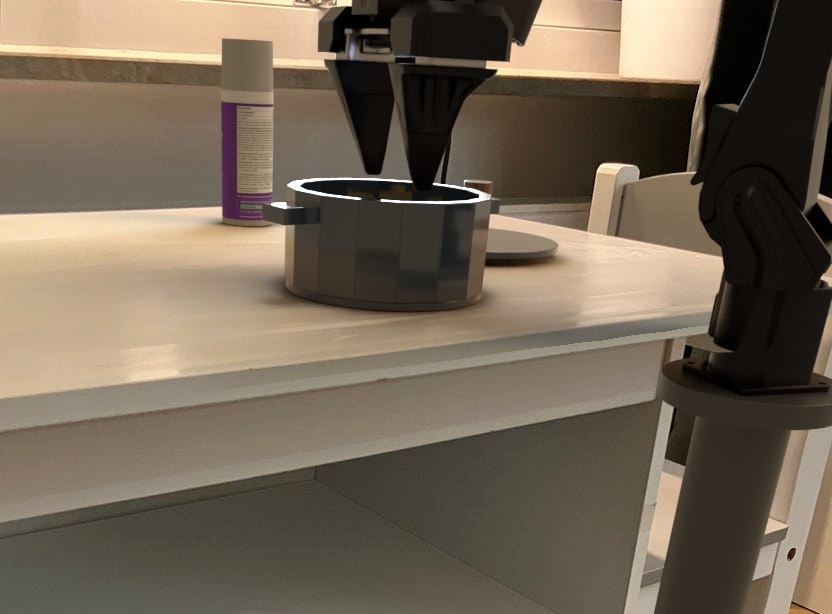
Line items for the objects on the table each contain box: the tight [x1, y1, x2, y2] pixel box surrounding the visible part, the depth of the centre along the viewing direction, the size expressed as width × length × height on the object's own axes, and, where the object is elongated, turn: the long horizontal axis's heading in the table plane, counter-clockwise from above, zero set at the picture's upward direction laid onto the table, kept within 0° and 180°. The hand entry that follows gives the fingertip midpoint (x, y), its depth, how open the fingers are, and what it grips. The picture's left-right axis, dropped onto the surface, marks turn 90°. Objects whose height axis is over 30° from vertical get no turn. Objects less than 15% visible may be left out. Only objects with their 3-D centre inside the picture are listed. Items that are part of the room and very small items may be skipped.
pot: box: [262, 177, 501, 312], centre depth 72 cm, size 14×19×6 cm
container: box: [220, 37, 275, 227], centre depth 95 cm, size 5×5×15 cm
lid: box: [463, 179, 559, 264], centre depth 89 cm, size 15×15×6 cm
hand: (396, 182), depth 70 cm, fingers open, 9 cm apart
